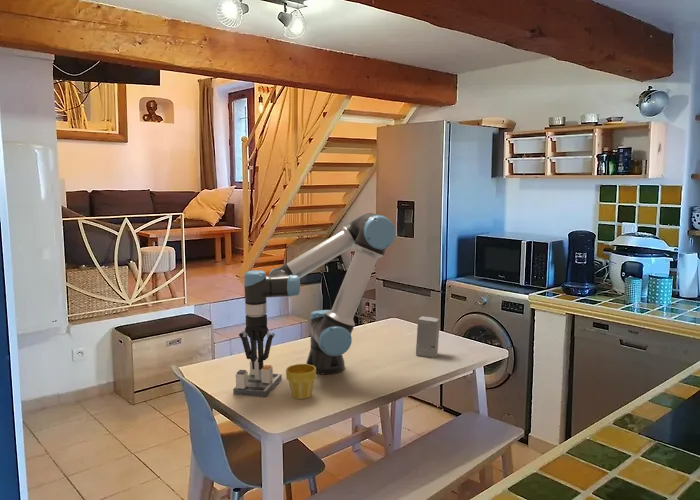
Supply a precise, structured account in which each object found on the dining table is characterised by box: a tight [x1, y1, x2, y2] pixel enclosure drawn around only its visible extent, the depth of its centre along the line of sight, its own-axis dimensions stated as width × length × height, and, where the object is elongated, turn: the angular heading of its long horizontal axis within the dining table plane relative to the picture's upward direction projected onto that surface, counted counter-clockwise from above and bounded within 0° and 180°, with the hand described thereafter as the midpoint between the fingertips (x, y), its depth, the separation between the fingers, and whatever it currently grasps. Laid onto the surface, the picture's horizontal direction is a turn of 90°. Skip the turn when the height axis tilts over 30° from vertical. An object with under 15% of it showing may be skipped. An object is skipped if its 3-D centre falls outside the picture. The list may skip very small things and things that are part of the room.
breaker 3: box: [261, 364, 274, 383], centre depth 200 cm, size 3×4×6 cm
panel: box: [232, 373, 283, 398], centre depth 201 cm, size 12×17×2 cm
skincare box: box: [415, 315, 441, 359], centre depth 236 cm, size 8×7×16 cm
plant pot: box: [285, 363, 317, 400], centre depth 193 cm, size 10×10×10 cm
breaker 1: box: [235, 369, 249, 389], centre depth 195 cm, size 3×4×6 cm
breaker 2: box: [249, 358, 258, 375], centre depth 208 cm, size 3×4×6 cm
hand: (258, 377), depth 201 cm, fingers closed
